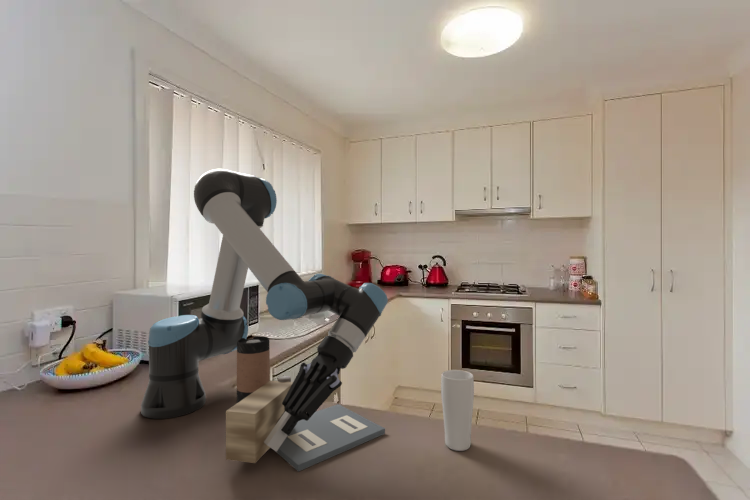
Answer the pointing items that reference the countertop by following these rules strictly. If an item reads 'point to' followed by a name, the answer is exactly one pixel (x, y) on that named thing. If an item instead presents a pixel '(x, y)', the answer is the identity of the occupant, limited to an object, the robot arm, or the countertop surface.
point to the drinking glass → (457, 408)
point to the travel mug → (252, 365)
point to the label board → (326, 436)
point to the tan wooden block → (255, 421)
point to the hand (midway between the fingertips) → (270, 446)
